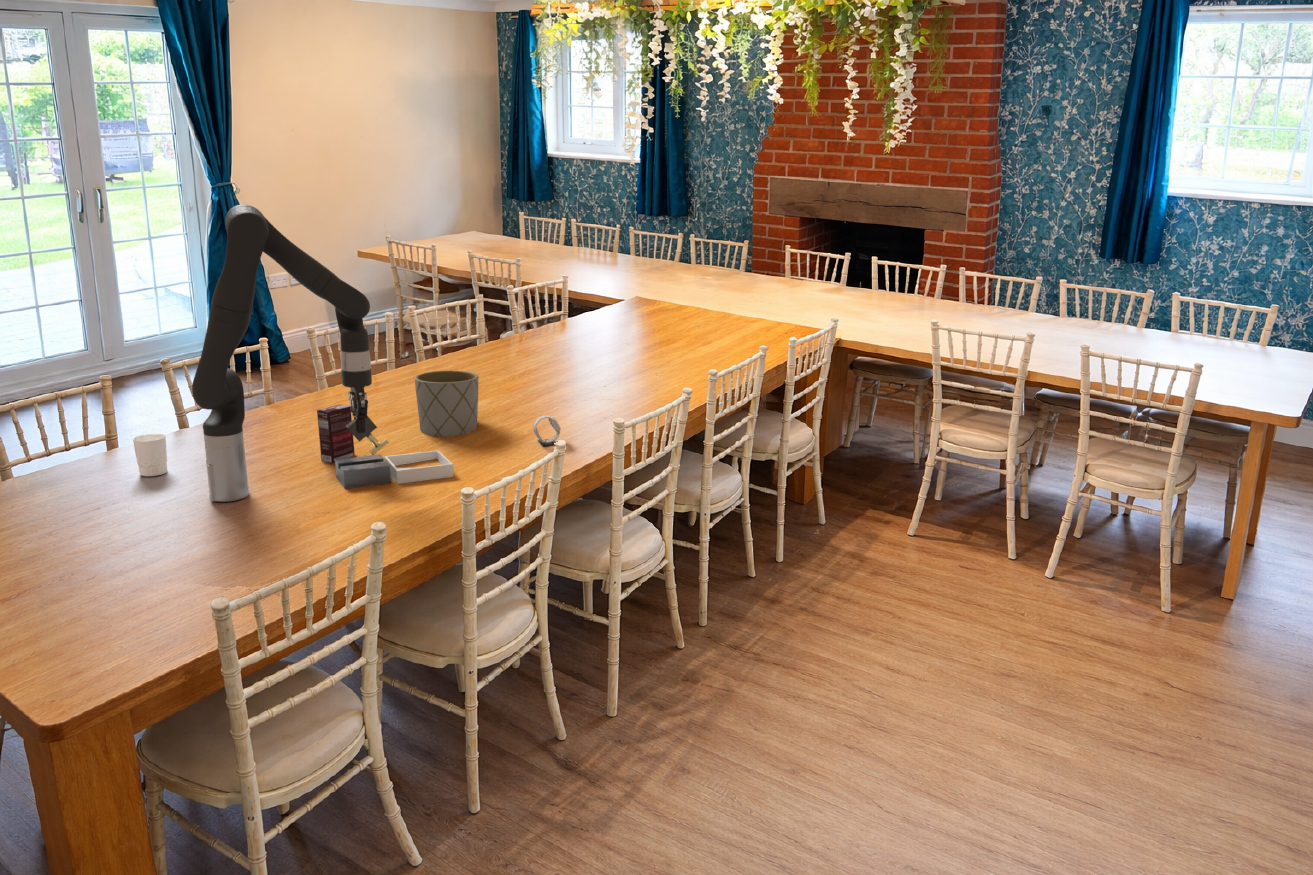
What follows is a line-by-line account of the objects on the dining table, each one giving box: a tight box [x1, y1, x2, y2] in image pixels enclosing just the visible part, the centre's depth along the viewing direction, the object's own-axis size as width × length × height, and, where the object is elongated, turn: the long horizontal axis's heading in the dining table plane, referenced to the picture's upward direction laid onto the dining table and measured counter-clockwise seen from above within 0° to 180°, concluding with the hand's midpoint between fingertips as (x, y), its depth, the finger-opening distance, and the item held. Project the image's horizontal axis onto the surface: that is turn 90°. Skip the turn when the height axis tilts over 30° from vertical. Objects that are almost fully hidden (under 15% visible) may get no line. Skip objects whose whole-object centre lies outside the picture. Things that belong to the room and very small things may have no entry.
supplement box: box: [316, 403, 355, 465], centre depth 283 cm, size 9×5×16 cm, turn 149°
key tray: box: [383, 450, 455, 485], centre depth 275 cm, size 15×15×4 cm
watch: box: [533, 414, 562, 448], centre depth 296 cm, size 6×8×11 cm
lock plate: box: [334, 454, 392, 489], centre depth 268 cm, size 12×12×5 cm
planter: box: [414, 369, 480, 438], centre depth 307 cm, size 19×19×20 cm
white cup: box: [132, 433, 168, 477], centre depth 271 cm, size 8×8×10 cm
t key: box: [346, 412, 390, 455], centre depth 267 cm, size 6×2×10 cm
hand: (360, 431), depth 266 cm, fingers closed on t key, 2 cm apart
